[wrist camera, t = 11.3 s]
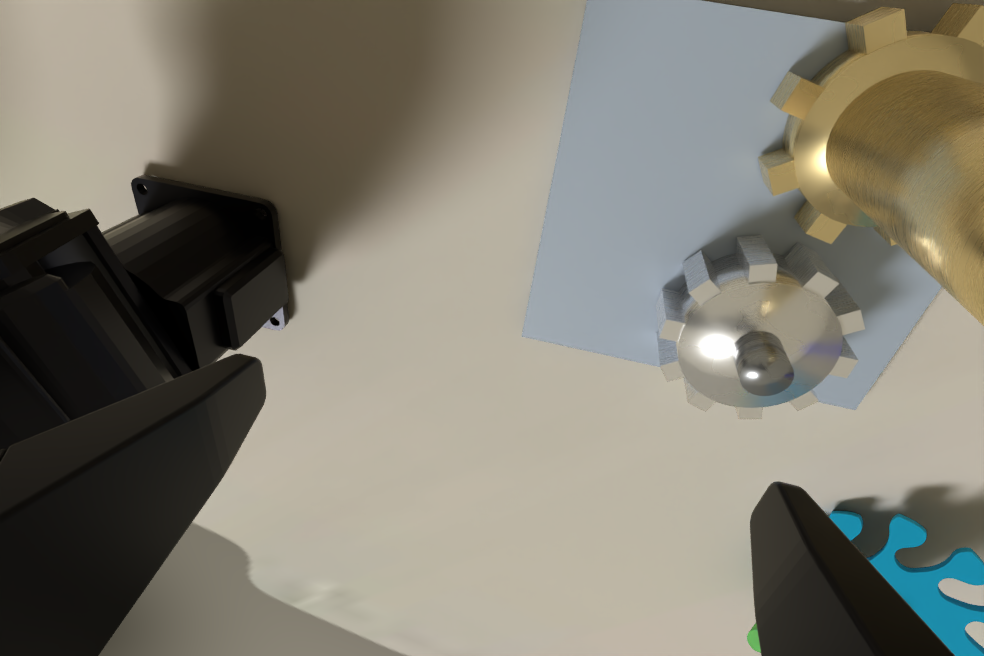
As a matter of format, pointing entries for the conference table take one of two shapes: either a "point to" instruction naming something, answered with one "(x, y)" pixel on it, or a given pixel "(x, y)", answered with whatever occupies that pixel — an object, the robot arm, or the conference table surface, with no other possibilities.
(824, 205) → the gear
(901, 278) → the carrier plate
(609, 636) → the conference table surface
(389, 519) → the conference table surface
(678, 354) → the sun gear
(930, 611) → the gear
